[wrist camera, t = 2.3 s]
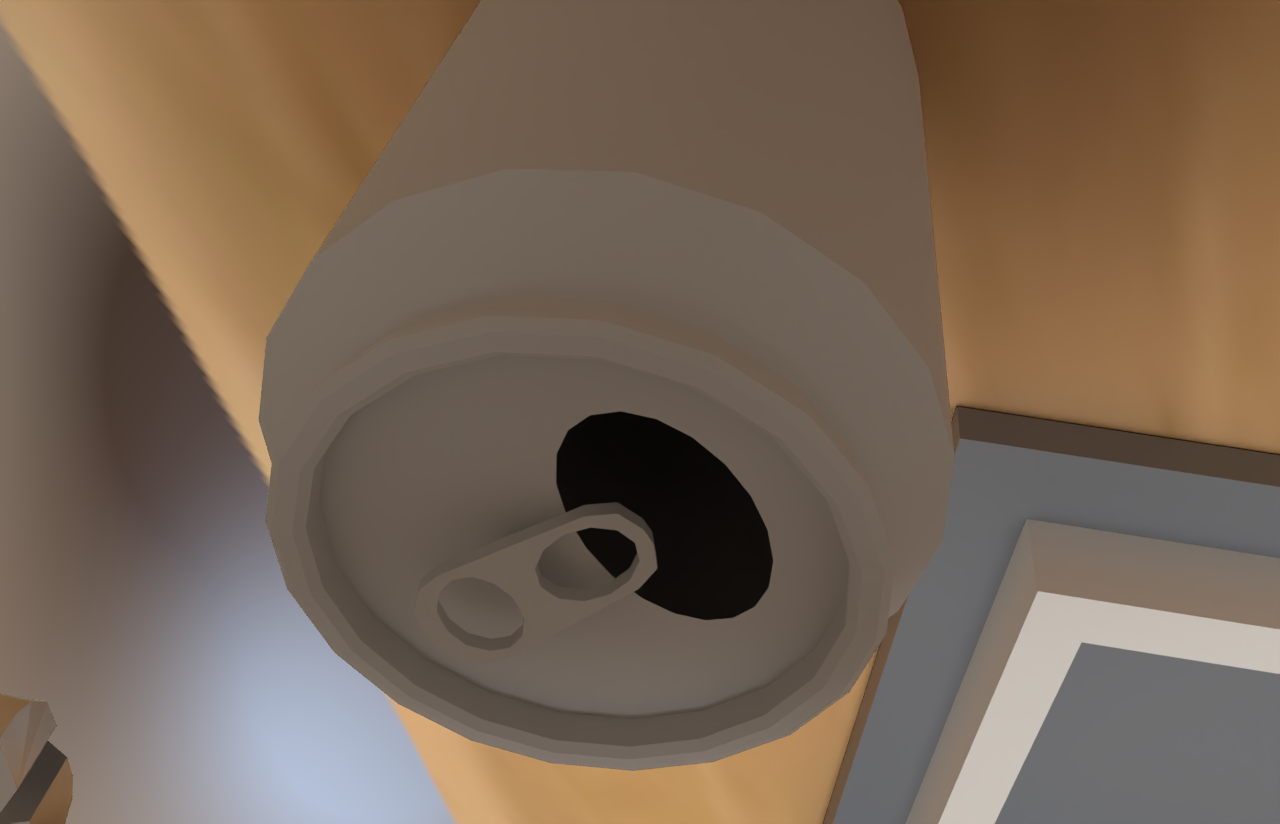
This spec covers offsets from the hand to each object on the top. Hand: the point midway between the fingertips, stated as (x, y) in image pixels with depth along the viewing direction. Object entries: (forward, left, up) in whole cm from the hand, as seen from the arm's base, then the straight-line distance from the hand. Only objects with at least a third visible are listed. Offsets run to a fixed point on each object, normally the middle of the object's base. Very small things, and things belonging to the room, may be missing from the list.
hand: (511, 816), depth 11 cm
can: (0, 0, -14) cm, 14 cm away
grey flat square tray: (+14, +14, -14) cm, 24 cm away
